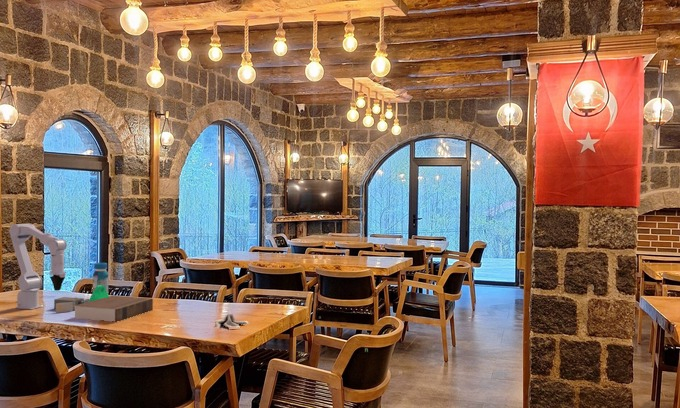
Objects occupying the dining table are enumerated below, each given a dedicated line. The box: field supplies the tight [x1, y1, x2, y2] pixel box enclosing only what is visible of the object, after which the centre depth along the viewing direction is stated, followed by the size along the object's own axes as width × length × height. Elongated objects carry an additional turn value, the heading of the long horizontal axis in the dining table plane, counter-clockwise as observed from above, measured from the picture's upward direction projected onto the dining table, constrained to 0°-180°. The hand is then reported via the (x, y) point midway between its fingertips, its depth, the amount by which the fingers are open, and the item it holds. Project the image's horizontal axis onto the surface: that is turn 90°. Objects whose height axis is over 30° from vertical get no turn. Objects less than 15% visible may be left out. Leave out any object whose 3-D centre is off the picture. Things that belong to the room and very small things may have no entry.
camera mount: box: [87, 285, 110, 302], centre depth 298 cm, size 12×8×10 cm, turn 147°
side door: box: [55, 302, 75, 313], centre depth 278 cm, size 8×1×4 cm, turn 127°
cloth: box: [214, 312, 249, 329], centre depth 253 cm, size 22×19×6 cm
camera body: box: [53, 296, 85, 310], centre depth 286 cm, size 13×7×6 cm, turn 77°
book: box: [74, 295, 154, 323], centre depth 274 cm, size 24×28×6 cm
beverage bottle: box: [92, 262, 110, 294], centre depth 315 cm, size 8×8×20 cm
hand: (57, 290), depth 281 cm, fingers closed
